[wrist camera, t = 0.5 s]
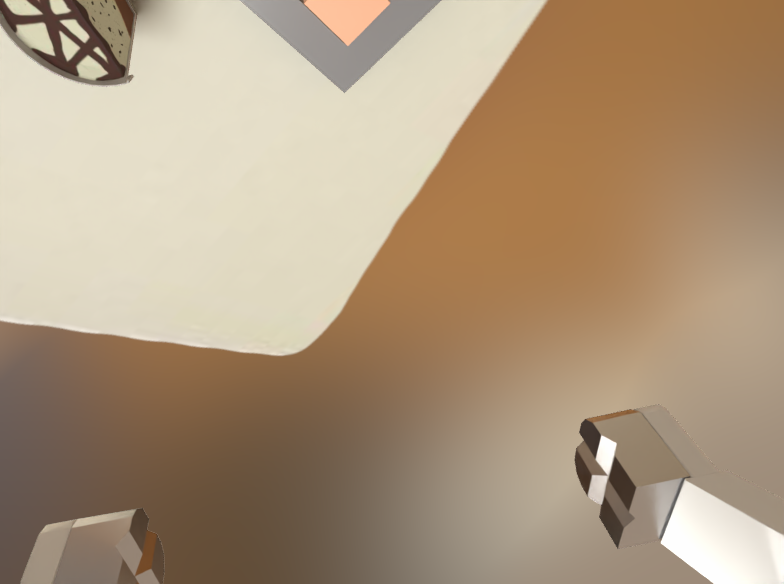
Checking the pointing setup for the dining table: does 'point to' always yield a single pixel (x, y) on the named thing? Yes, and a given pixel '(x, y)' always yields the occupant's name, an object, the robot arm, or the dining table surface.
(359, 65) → the pocket plate
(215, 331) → the dining table surface
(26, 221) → the dining table surface
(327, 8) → the terracotta block
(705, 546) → the robot arm
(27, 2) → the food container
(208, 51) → the dining table surface
